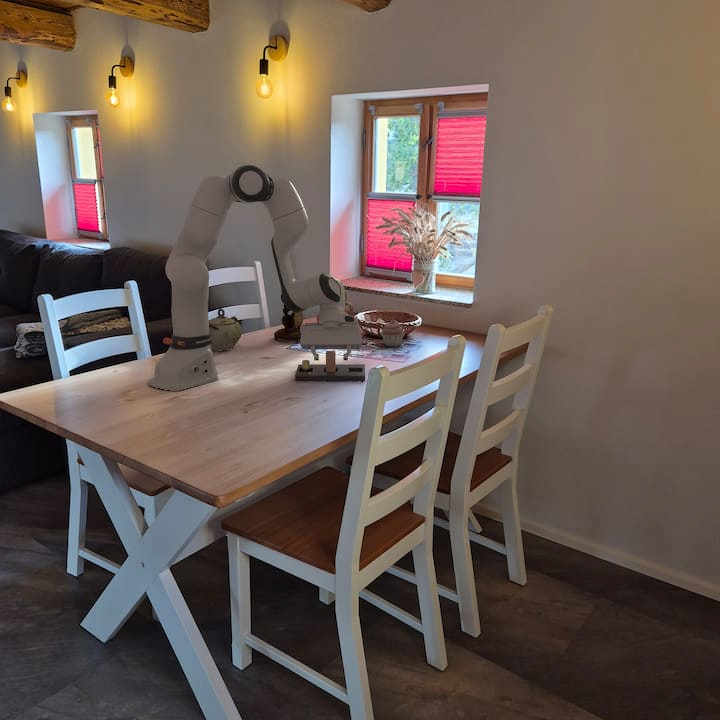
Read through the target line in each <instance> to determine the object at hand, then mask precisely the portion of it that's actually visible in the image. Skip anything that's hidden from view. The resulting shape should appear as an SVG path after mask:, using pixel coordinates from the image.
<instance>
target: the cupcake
mask: <svg viewBox="0 0 720 720" xmlns="http://www.w3.org/2000/svg"><path fill="white" fill-rule="evenodd" d="M403 329H404V328H403V326H402V325H400V323H399V322H398V320H395V319H391V320H390V321H389V322H387V323H385V324H384V327H383V328H382V331H381V332H380V335H381V337H382V340H383V344H384V346H386V347H389V348H390V347H392V348H393V347H394V348H395V347H400V346H401V345H402V342H403V338H404V337H405V332H404V331H403Z"/></svg>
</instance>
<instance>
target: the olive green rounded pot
mask: <svg viewBox="0 0 720 720" xmlns="http://www.w3.org/2000/svg"><path fill="white" fill-rule="evenodd" d="M221 312H222V313H221ZM225 313H226V312H225V310H224V309H223V308H218V310H217V315H218V316H216V317H214V318H213V317H212V318H211V319H209V331H210V332H211V337H212V338H211V340H212V343H211V350H212V349H213V350H212V351H216V350H227V349H231V348H233V349H234V348H235V346H236V345H237V344H238V342H239V340H240V339H241V337H242V335H243V329H242V326H241V325H240V323H239V321H238V317H236V316H234V315H233V316H231V317H229V316H228V317H227V316H225ZM231 350H232V349H231ZM227 351H228V350H227Z"/></svg>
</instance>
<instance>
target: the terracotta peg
mask: <svg viewBox="0 0 720 720" xmlns="http://www.w3.org/2000/svg"><path fill="white" fill-rule="evenodd" d="M336 356H337V355H336V350H325V364H326V372H336V363H337V362H336V358H337V357H336Z"/></svg>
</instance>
